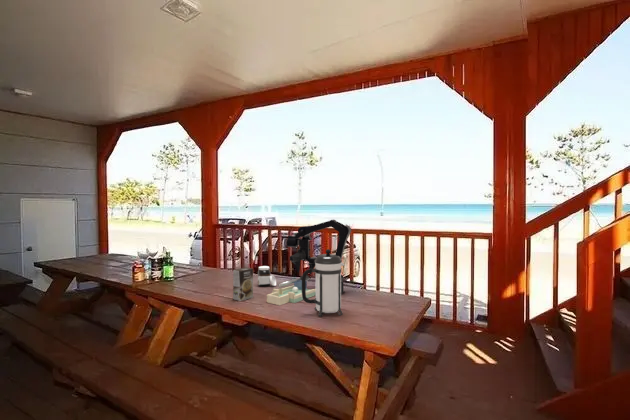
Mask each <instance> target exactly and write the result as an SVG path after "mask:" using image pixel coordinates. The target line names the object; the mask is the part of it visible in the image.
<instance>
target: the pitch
mask: <svg viewBox="0 0 630 420" xmlns="http://www.w3.org/2000/svg"><path fill="white" fill-rule="evenodd" d="M293 287H294V284H292V285H289V286H286V287H282V288H281V287H279V288H272V291H271V293H268V294H266V303H268V304H273V305H275V306H282V305H285V304H288V303H292V304H296V303H299V302H302V301H304V300H303V298H302V289H298V292H296V293H294V292H293V291H292V289H293ZM314 296H315V297H316V287H315V288H312V289H310V288H309V289H308V288H307V290H306V298H307V299H309V298H311V297H314Z"/></svg>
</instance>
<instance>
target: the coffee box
mask: <svg viewBox="0 0 630 420" xmlns="http://www.w3.org/2000/svg"><path fill="white" fill-rule="evenodd" d="M232 273H233V274H232V276H233V279H232V280H233V282H232V286H233V287H232V288H233V289H232V291H233V293H232V297H233V300H235V301H238V302H241V301H245V300H248V299H253V298H254V268H251V267H240V268H236V269H233V271H232Z"/></svg>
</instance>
